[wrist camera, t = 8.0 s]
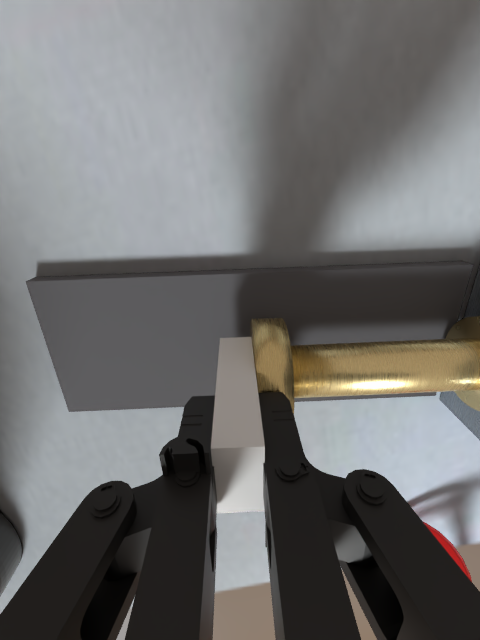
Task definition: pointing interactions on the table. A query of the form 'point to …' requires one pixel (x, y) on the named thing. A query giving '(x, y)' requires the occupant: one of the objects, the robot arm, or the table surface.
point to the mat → (226, 322)
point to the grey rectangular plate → (468, 416)
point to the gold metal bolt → (367, 364)
